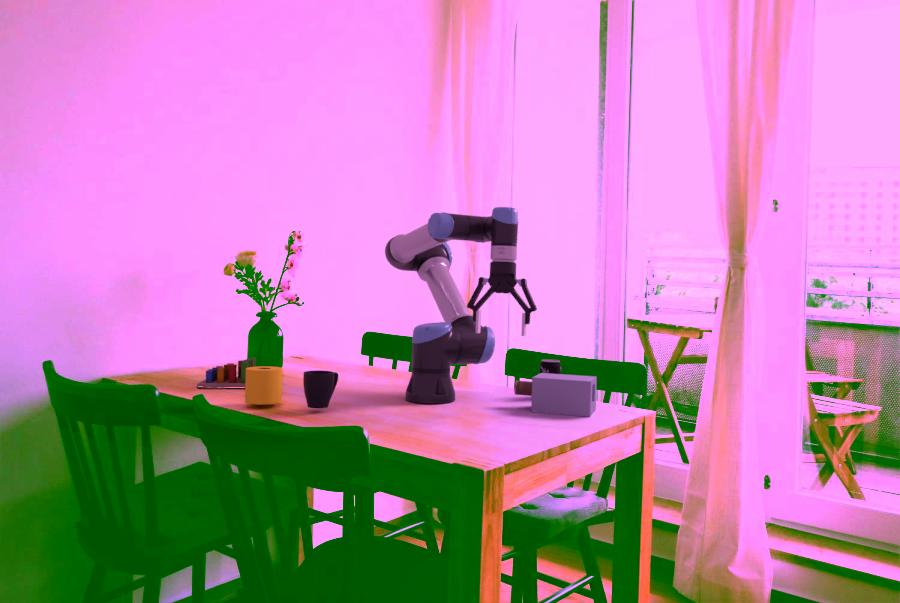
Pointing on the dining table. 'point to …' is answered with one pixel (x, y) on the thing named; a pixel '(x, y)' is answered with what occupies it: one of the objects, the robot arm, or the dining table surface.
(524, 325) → the robot arm
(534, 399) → the block
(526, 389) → the peg
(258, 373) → the toilet paper roll
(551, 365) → the beverage can
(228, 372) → the peg board toy
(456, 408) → the dining table surface
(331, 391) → the mug
